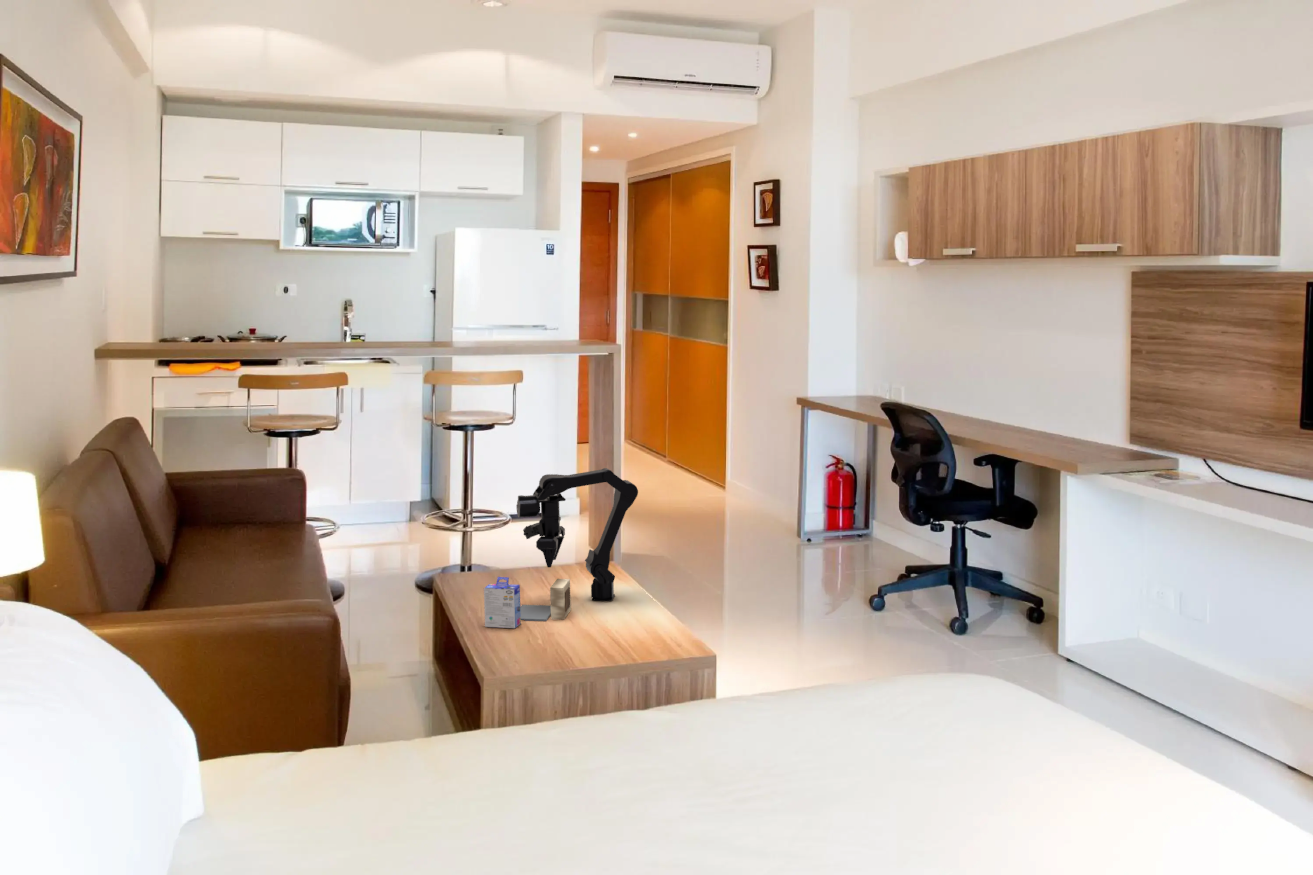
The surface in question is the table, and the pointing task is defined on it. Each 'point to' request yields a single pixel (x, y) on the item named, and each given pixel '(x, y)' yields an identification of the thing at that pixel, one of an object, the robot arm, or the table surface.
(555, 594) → the wooden block
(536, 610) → the mat
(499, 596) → the ink cartridge box
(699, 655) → the table surface
